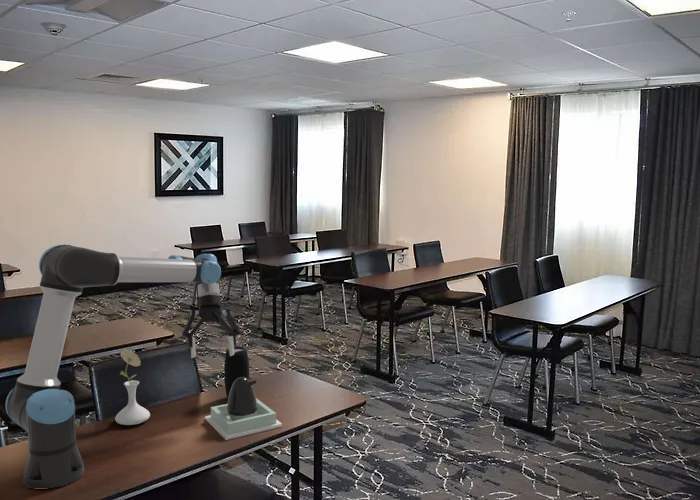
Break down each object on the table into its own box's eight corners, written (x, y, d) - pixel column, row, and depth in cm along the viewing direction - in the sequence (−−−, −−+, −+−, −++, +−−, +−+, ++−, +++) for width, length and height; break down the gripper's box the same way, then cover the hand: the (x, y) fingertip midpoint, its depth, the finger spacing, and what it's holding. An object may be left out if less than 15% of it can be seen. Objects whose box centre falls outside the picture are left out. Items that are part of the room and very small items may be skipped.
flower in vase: (156, 421, 200) (154, 351, 198) (123, 431, 192) (120, 357, 190) (139, 411, 210) (137, 343, 207) (107, 420, 202) (104, 349, 199)
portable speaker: (250, 401, 220) (249, 351, 218) (225, 403, 218) (224, 352, 215) (248, 393, 228) (247, 344, 226) (224, 395, 226) (223, 346, 224)
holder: (225, 440, 186) (225, 426, 186) (205, 419, 203) (205, 406, 202) (282, 426, 197) (282, 413, 196) (258, 407, 214) (258, 395, 213)
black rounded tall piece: (251, 427, 194) (251, 383, 192) (222, 424, 196) (221, 381, 194) (262, 415, 204) (261, 373, 202) (234, 413, 206) (233, 371, 204)
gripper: (238, 300, 216) (243, 356, 209) (170, 299, 203) (173, 360, 196) (246, 294, 210) (251, 352, 203) (176, 293, 197) (179, 355, 190)
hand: (213, 356), depth 199 cm, fingers open, 13 cm apart
